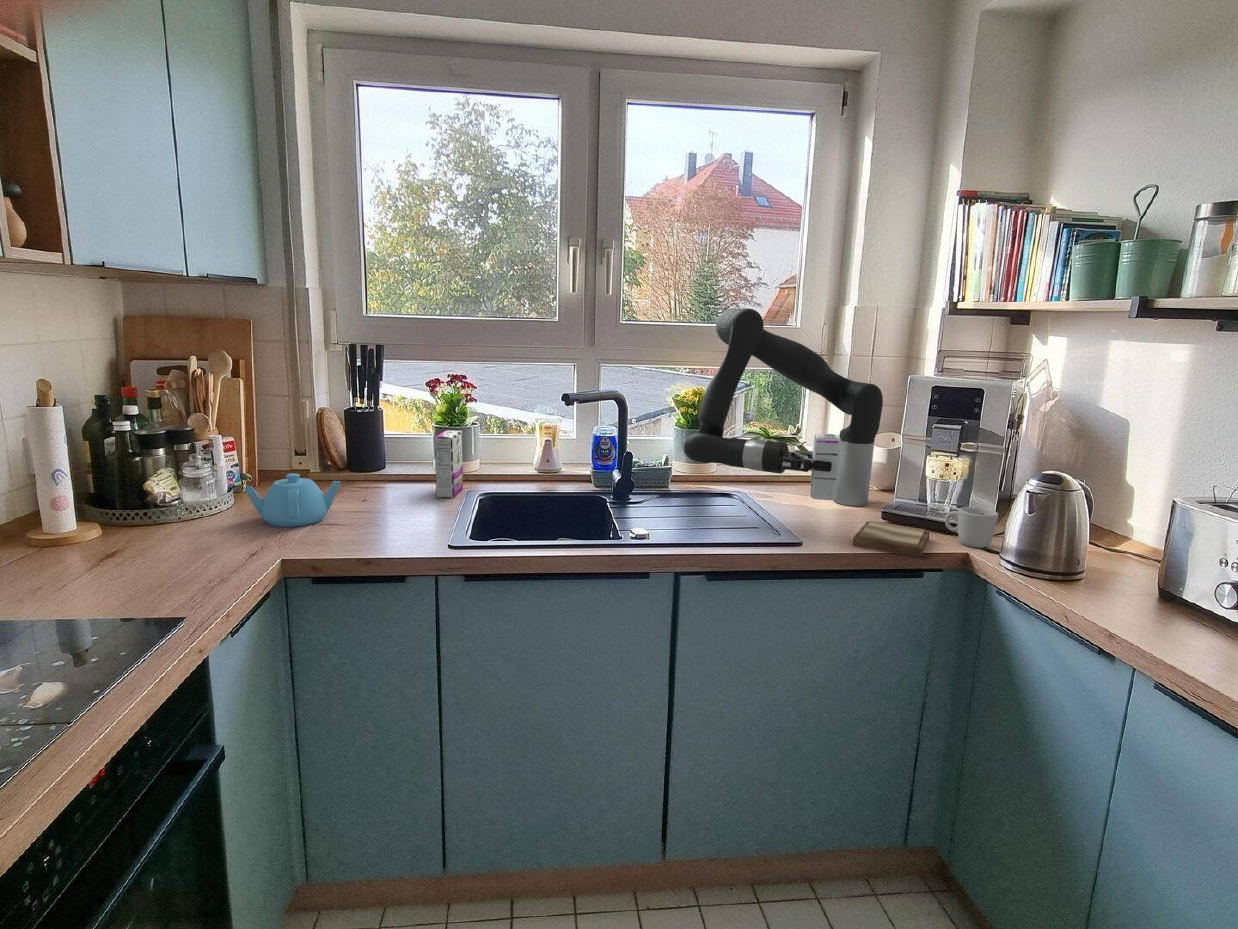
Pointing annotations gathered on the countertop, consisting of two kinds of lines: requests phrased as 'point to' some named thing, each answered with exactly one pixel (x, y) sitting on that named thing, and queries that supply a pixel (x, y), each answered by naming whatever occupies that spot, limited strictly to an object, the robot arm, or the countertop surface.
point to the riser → (892, 538)
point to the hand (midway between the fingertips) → (835, 464)
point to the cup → (974, 526)
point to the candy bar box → (448, 464)
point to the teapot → (293, 501)
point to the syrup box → (824, 481)
